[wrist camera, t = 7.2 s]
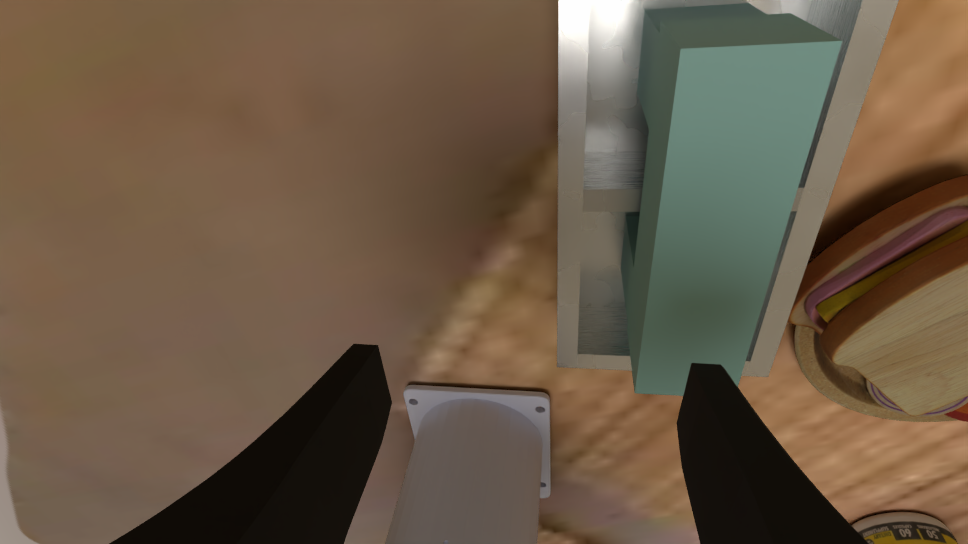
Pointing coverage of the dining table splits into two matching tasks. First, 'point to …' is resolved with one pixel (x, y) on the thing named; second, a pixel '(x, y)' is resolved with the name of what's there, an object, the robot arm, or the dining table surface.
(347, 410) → the robot arm
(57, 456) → the dining table surface
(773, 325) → the cabinet frame
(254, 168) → the dining table surface
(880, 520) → the supplement bottle
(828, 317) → the toy sandwich meal
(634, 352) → the clip
